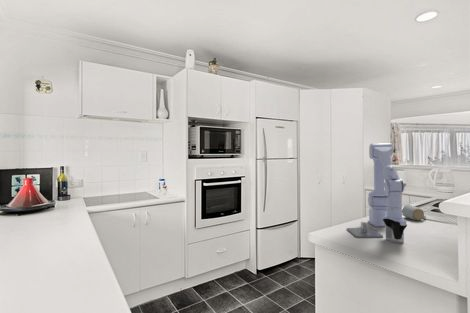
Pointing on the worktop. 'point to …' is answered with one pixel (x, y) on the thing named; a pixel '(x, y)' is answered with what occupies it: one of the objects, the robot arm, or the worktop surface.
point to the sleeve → (391, 236)
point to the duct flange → (364, 232)
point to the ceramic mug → (413, 212)
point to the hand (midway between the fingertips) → (394, 236)
